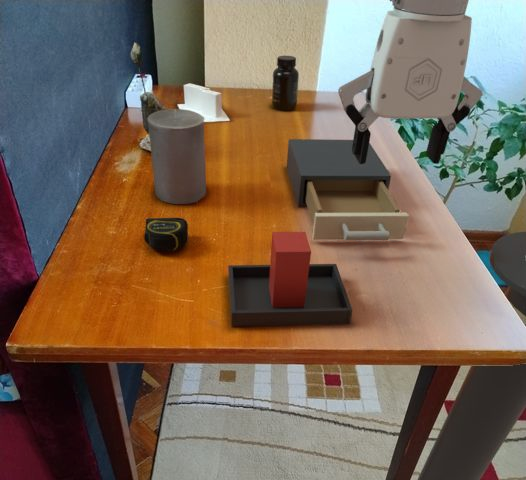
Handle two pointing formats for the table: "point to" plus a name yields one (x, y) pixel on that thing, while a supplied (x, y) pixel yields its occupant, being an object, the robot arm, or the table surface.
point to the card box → (289, 269)
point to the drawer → (353, 210)
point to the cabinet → (329, 164)
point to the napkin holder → (203, 103)
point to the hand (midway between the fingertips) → (396, 159)
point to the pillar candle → (178, 155)
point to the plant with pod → (145, 99)
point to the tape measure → (166, 233)
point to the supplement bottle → (285, 84)
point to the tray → (262, 314)
